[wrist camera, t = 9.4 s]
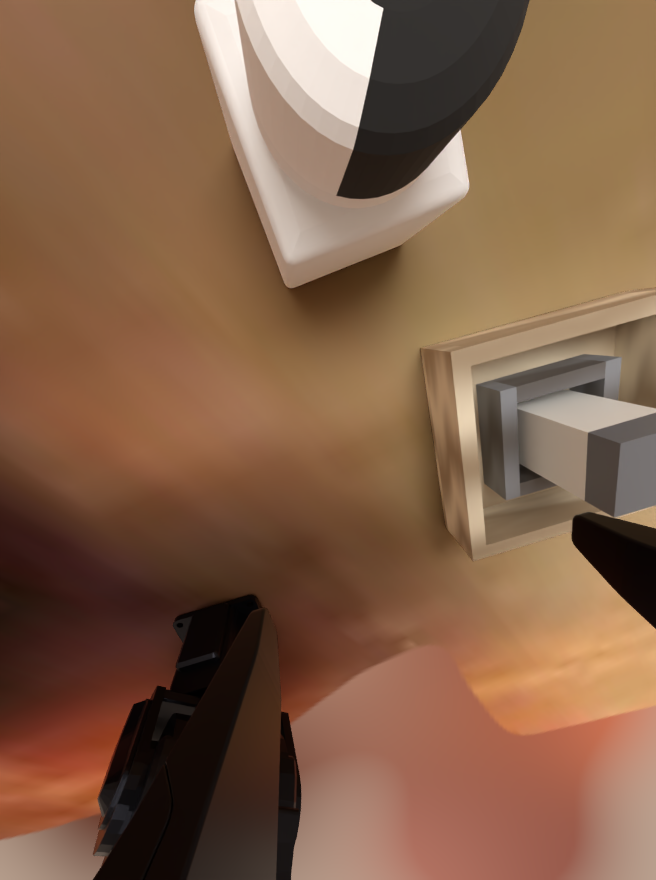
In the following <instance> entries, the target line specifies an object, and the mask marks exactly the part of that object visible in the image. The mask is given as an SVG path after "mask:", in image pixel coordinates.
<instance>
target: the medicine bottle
mask: <svg viewBox="0 0 656 880" xmlns="http://www.w3.org/2000/svg"><path fill="white" fill-rule="evenodd" d="M528 4H529V0H196V2H195V6H194V13H195V19H196V24H197V27H198V30H199V34H200V37H201V41H202V44H203V47H204V51H205V54H206V58H207V61H208V64H209V68H210V71H211V75H212V78H213V81H214V85H215V88H216V92H217V95H218V98H219V102H220V105H221V108H222V112H223V115H224V119H225V122H226V125H227V129H228V132H229V136H230V139H231V142H232V146H233V148H234V151H235V154H236V156H237V159H238V161H239V164H240V167H241V169H242V172H243V175H244V177H245V180H246V183H247V185H248V188H249V191H250V193H251V196H252V199H253V201H254V204H255V206H256V209H257V212H258V214H259V217H260V220H261V222H262V225H263V228H264V230H265V233H266V236H267V238H268V241H269V244H270V246H271V249H272V252H273V254H274V257H275V259H276V262H277V265H278V267H279V270H280V273H281V275H282V278H283V281H284V283H285V285H286V286H287V287H288V288H295V287H297V286H300V285H302V284H305V283H307V282H310V281H312V280H315V279H317V278H320V277H322V276H325V275H327V274H330V273H332V272H335V271H337V270H340V269H342V268H345V267H347V266H350V265H352V264H355V263H357V262H360V261H363V260H365V259H368V258H370V257H373V256H375V255H378V254H380V253H383V252H385V251H388V250H390V249H393V248H395V247H398V246H400V245H402V244H403V243H404V242H406V241H407V240H408V239H410V238H411V237H412V236H414V235H415V234H416V233H418V232H419V231H420V230H422V229H423V228H424V227H426V226H427V225H428V224H430V223H431V222H432V221H434V220H435V219H436V218H438V217H439V216H440V215H442V214H443V213H444V212H446V211H447V210H448V209H450V208H451V207H452V206H454V205H455V204H456V203H458V202H459V201H460V200H462V199H463V198H464V197H465V196H466V194H467V192H468V190H469V179H468V173H467V167H466V161H465V155H464V148H463V142H462V136H461V130H460V129H461V128H462V127H463V126H464V125H465V124H466V123H467V121H468V120H469V119H470V118H471V117H472V116H473V114H474V113H475V112H476V111H477V110H478V108H479V107H480V106H481V105H482V103H483V102H484V101H485V100H486V98H487V97H488V96H489V95H490V93H491V91H492V90H493V88H494V87H495V85H496V83H497V82H498V80H499V79H500V77H501V76H502V74H503V72H504V70H505V67H506V65H507V63H508V61H509V59H510V57H511V55H512V53H513V51H514V48H515V45H516V43H517V40H518V37H519V35H520V32H521V29H522V26H523V22H524V19H525V15H526V11H527V7H528Z"/></svg>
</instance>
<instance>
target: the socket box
mask: <svg viewBox="0 0 656 880" xmlns="http://www.w3.org/2000/svg"><path fill="white" fill-rule="evenodd" d="M420 350H421V357H422V364H423V371H424V378H425V385H426V392H427V399H428V406H429V413H430V420H431V428H432V435H433V442H434V449H435V456H436V463H437V470H438V477H439V484H440V491H441V499H442V506H443V513H444V520H445V527H446V528H447V530H448V531H449V532H450V533H451V534H452V536H453V537H454V538H455V539H456V541H457V542H458V543H459V544H460V546H461V547H462V548H463V549H464V551H465V552H466V553H467V554H468V556H469V557H470V558H471V559H472V561H476V560H479V559H483V558H486V557H489V556H493V555H496V554H499V553H503V552H506V551H509V550H513V549H516V548H519V547H523V546H526V545H529V544H533V543H536V542H539V541H543V540H546V539H549V538H553V537H556V536H559V535H562V534H566V533H569V532H572V519H573V517H574V516H575V515H578V514H581V513H585V512H593V513H597V514H601V515H605V516H608V517H612V516H610V515H608V514H607V513H605V512H603V511H601V510H600V509H598V508H596V507H594V506H593V505H591V504H589V503H587V502H586V501H584V500H582V499H580V498H579V497H577V496H575V495H573V494H572V493H570V492H568V491H566V490H565V489H563V488H561V487H559V486H558V485H556V484H554V483H552V482H551V481H549V480H547V479H545V478H544V477H542V476H540V475H538V474H537V473H535V472H533V471H531V470H530V469H528V468H526V467H524V466H523V465H521V464H519V445H518V417H517V403H519V402H522V401H526V400H529V399H533V398H536V397H540V396H543V395H547V394H550V393H554V392H557V391H561V390H564V389H566V390H570V391H575V392H580V393H585V394H589V395H594V396H599V397H604V398H608V399H613V400H618V401H622V402H627V403H632V404H637V405H641V406H646V407H651V408H656V288H647V289H638V290H630V291H625V292H621V293H617V294H614V295H610V296H607V297H603V298H599V299H596V300H592V301H588V302H585V303H581V304H578V305H574V306H570V307H567V308H563V309H560V310H556V311H552V312H549V313H545V314H541V315H538V316H534V317H531V318H527V319H523V320H520V321H516V322H513V323H509V324H505V325H502V326H498V327H494V328H491V329H487V330H484V331H480V332H476V333H473V334H469V335H466V336H462V337H458V338H455V339H451V340H447V341H444V342H440V343H437V344H433V345H429V346H426V347H422V348H420ZM652 507H656V505H655V506H651V507H648V508H645V509H641V510H638V511H635V512H631V513H628V514H625V515H621V516H618V517H615V518H619V517H622V516H626V515H629V514H632V513H636V512H639V511H642V510H646V509H649V508H652ZM612 518H614V517H612Z"/></svg>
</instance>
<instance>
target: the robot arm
mask: <svg viewBox="0 0 656 880" xmlns="http://www.w3.org/2000/svg"><path fill="white" fill-rule="evenodd" d="M572 541H573V544H574V545H575V547H576V548H577V549H578V550H579V551H580V552H581V553H582V555H583V556H584V557H585V558H586V559H587V560H588V561H589V562H590V563H591V564H592V566H593V567H594V568H595V569H596V570H597V571H598V572H599V573H600V574H601V575H602V576H603V578H604V579H605V580H606V581H607V582H608V583H609V584H610V585H611V586H612V587H613V588H614V589H615V591H616V592H617V593H618V594H619V595H620V596H621V597H622V598H623V599H624V600H625V601H626V602H627V603H629V604H630V605H631V606H632V607H633V608H634V609H635V610H636V611H637V612H638V613H639V614H640V615H641V616H642V617H644V618H645V619H646V620H647V621H648V622H649V623H650V624H651V625H652V626H653V627H654V628H655V629H656V529H655V528H651V527H647V526H643V525H640V524H636V523H632V522H628V521H624V520H620V519H616V518H612V517H608V516H605V515H601V514H597V513H593V512H585V513H581V514H578V515H575V516H574V517H573V519H572ZM249 602H252V603H249ZM173 627H174V629H175V630H176V632H177V634H178V635H179V637H180V639H181V640H182V642H183V645H182V648H181V651H180V654H179V657H178V660H177V663H176V668H177V669H176V672H175V675H174V678H173V681H172V684H171V687H170V690H166V687H161V686H157V687H156V689H155V691H154V693H153V695H152V696H151V698H150V699H146V700H145V701H142V702H139V703H136V704H134V705H133V707H132V709H131V711H130V713H129V716H128V718H127V721H126V723H125V726H124V728H123V730H122V733H121V735H120V738H119V740H118V743H117V745H116V748H115V751H114V753H113V756H112V759H111V762H110V764H109V767H108V770H107V773H106V776H105V779H104V782H103V784H102V787H101V790H100V793H99V796H98V803H99V807H100V810H101V814H102V815H101V818H100V822H99V826H98V829H99V832H98V836H97V840H96V843H95V847H94V852H93V855H94V856H105V858H104V860H103V863H102V866H101V868H100V870H99V871H98V873H97V874H96V876H95V877H94V879H93V880H291V869H292V860H293V850H294V845H295V840H296V837H297V832H298V827H299V820H300V811H301V783H300V775H299V770H298V764H297V759H296V754H295V748H294V743H293V737H292V732H291V726H290V721H289V716H288V713H285V712H281V687H280V672H279V657H278V642H277V632H276V628H275V626H274V623H273V621H272V619H271V616H270V614H269V612H268V610H267V609H266V608H261V607H260V605H259V602H258V600H257V598H256V597H255V596H253V595H248V596H245V597H242V598H238V599H235V600H231V601H228V602H225V603H221V604H218V605H215V606H211V607H208V608H205V609H201V610H198V611H194V612H191V613H188V614H184V615H181V616H178V617H176V618H175V621H174V623H173Z"/></svg>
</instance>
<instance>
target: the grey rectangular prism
mask: <svg viewBox="0 0 656 880" xmlns="http://www.w3.org/2000/svg"><path fill="white" fill-rule="evenodd" d="M517 417H518V445H519V464H521V465H523V466H524V467H526V468H528V469H530V470H531V471H533V472H535V473H537V474H538V475H540V476H542V477H544V478H545V479H547V480H549V481H551V482H552V483H554V484H556V485H558V486H559V487H561V488H563V489H565V490H566V491H568V492H570V493H572V494H573V495H575V496H577V497H579V498H580V499H582V500H584V501H586V502H587V503H589V504H591V505H593V506H594V507H596V508H598V509H600V510H601V511H603V512H605V513H607V514H608V515H610V516H612V517H614V518H615V517H618V516H621V515H625V514H628V513H631V512H635V511H638V510H641V509H645V508H648V507H651V506H655V505H656V408H651V407H646V406H641V405H637V404H632V403H627V402H622V401H618V400H613V399H608V398H604V397H599V396H594V395H589V394H585V393H580V392H575V391H570V390H566V389H564V390H561V391H557V392H554V393H550V394H547V395H543V396H540V397H536V398H533V399H529V400H526V401H522V402H519V403H517Z"/></svg>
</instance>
